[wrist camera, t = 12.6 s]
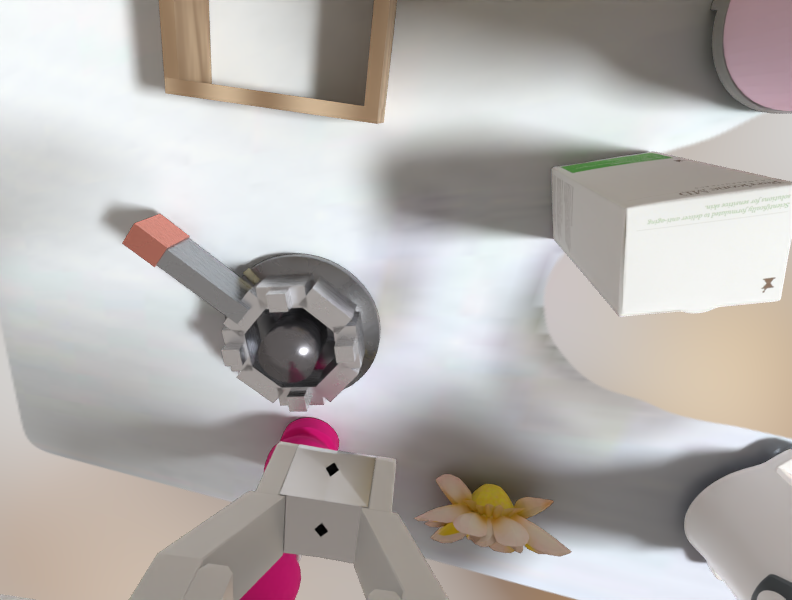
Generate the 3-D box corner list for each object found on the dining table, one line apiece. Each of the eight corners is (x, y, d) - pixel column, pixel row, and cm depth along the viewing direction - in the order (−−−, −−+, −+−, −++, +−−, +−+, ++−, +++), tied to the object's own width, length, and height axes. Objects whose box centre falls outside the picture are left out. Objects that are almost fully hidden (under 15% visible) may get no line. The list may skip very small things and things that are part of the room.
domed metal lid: (389, 266, 40) (383, 290, 34) (371, 400, 45) (364, 439, 40) (228, 242, 40) (195, 262, 34) (231, 379, 46) (204, 415, 40)
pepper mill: (272, 452, 49) (180, 652, 31) (288, 404, 46) (197, 593, 28) (332, 472, 50) (277, 680, 31) (352, 426, 47) (303, 625, 29)
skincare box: (654, 150, 34) (817, 175, 20) (649, 231, 37) (790, 305, 22) (545, 167, 35) (626, 202, 21) (547, 244, 38) (620, 323, 24)
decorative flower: (403, 520, 52) (398, 606, 43) (422, 448, 48) (421, 528, 38) (525, 543, 52) (546, 634, 43) (555, 474, 48) (586, 559, 39)
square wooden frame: (406, -81, 30) (402, -117, 25) (383, 122, 35) (376, 123, 30) (190, -111, 30) (147, -153, 25) (200, 96, 35) (165, 93, 30)
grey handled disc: (389, 330, 40) (385, 353, 37) (313, 407, 44) (302, 434, 41) (187, 169, 36) (158, 176, 32) (124, 271, 40) (91, 287, 36)
